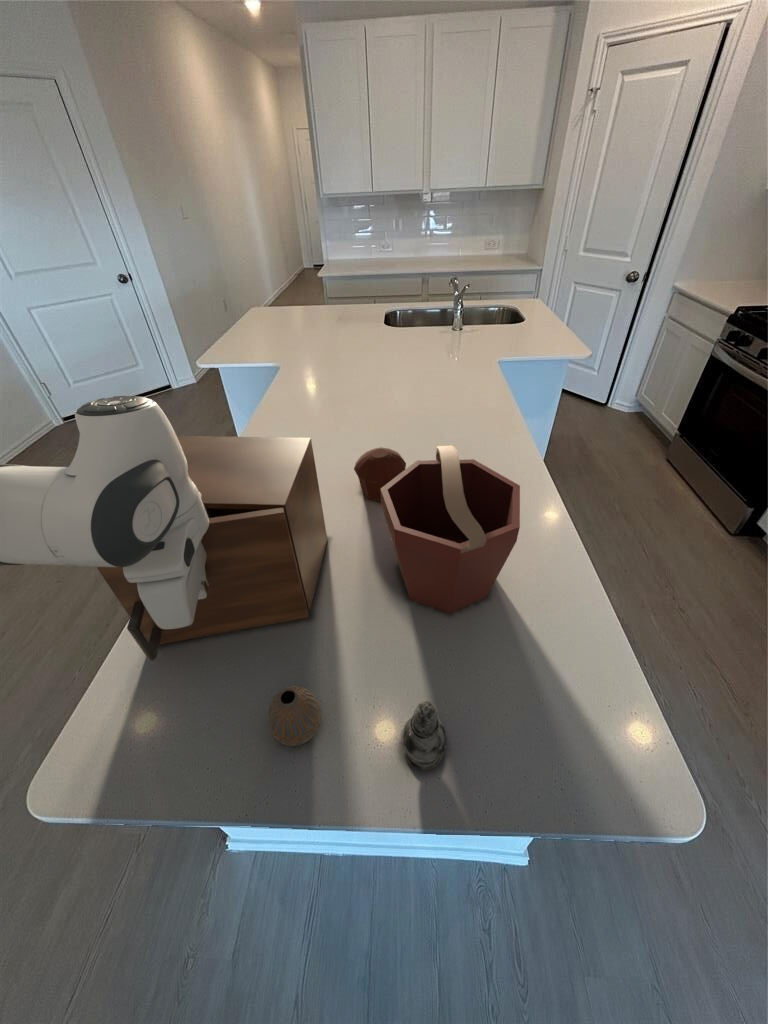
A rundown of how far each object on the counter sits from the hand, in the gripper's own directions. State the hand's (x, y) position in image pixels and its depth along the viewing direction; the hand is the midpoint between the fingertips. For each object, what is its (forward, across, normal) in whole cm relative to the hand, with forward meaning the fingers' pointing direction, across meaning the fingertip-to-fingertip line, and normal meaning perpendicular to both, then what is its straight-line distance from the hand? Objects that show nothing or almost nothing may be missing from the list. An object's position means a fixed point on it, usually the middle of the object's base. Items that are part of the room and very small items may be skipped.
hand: (202, 592), depth 63 cm
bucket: (+13, -8, +38) cm, 41 cm away
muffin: (+13, -36, +32) cm, 50 cm away
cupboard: (+13, -16, +3) cm, 21 cm away
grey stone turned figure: (+14, +21, +28) cm, 38 cm away
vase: (+14, +15, +12) cm, 23 cm away
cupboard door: (+13, 0, +1) cm, 13 cm away
